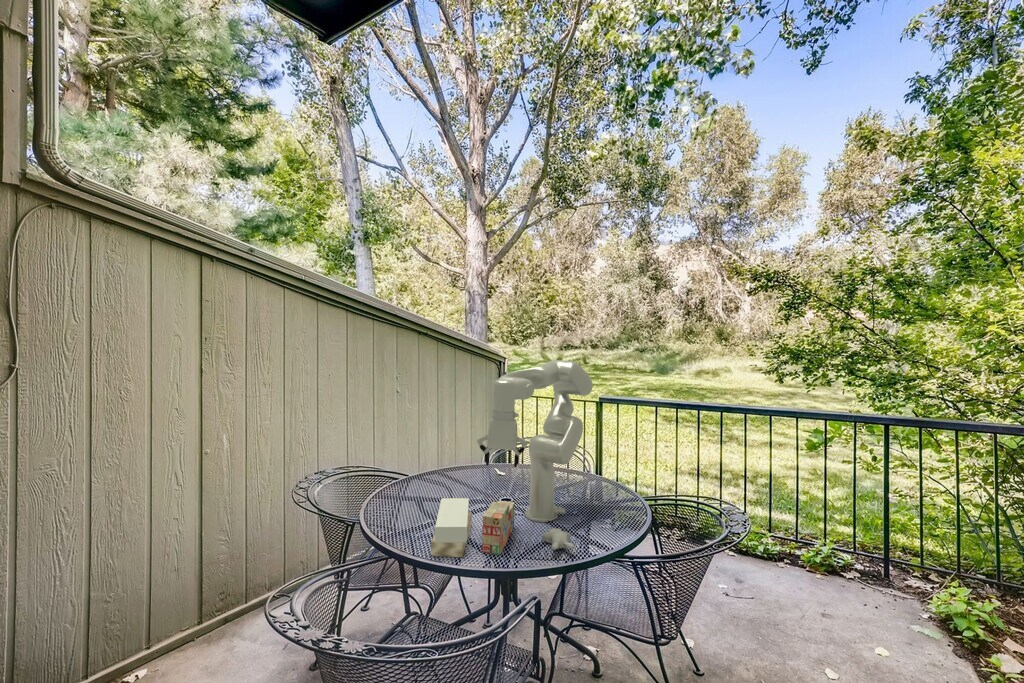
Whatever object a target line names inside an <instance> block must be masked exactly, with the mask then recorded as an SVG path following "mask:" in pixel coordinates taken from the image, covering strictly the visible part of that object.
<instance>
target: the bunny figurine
mask: <svg viewBox="0 0 1024 683" xmlns="http://www.w3.org/2000/svg"><path fill="white" fill-rule="evenodd" d="M542 541H544V542H547V543H549V544H551V548H550V549H551V550H552V551H556V549H557V550H558V549H562V548H565V549H568V548H569V549H570V550H575V549H576V547H575V544H574V543H573V542H570V541H571V533H570V532H568V531H567V532H566V531H562V528H548V530H547V532H544V533H543V534H542Z"/></svg>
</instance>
